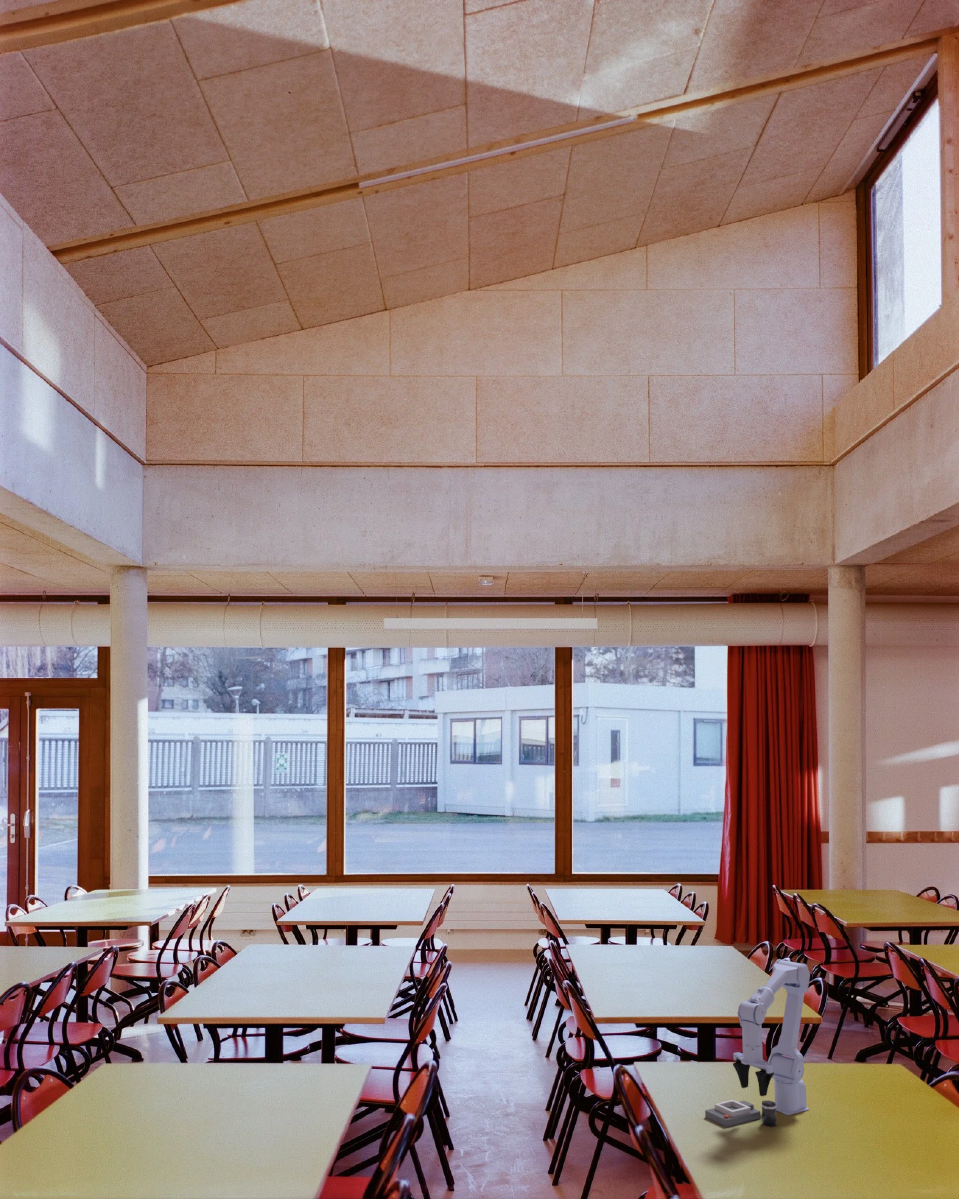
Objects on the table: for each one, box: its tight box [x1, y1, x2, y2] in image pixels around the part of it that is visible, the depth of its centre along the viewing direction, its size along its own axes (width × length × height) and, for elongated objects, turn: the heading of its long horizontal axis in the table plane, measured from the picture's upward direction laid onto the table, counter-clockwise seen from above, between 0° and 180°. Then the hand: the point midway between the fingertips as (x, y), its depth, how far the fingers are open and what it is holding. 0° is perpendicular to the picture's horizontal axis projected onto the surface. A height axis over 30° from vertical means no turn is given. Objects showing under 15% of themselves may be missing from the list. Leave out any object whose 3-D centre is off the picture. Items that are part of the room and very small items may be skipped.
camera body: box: [704, 1099, 762, 1128], centre depth 308 cm, size 14×9×4 cm, turn 120°
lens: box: [761, 1100, 777, 1128], centre depth 303 cm, size 4×4×6 cm
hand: (753, 1091), depth 303 cm, fingers open, 7 cm apart
